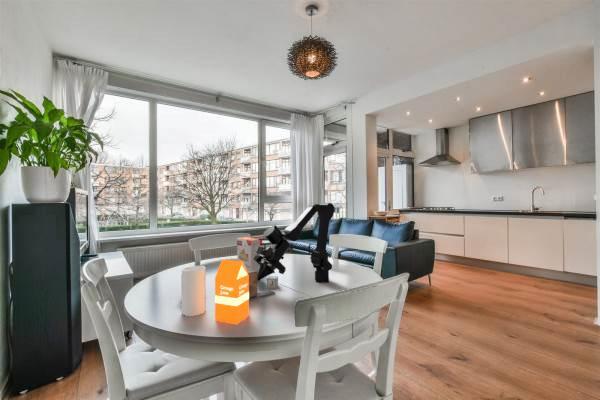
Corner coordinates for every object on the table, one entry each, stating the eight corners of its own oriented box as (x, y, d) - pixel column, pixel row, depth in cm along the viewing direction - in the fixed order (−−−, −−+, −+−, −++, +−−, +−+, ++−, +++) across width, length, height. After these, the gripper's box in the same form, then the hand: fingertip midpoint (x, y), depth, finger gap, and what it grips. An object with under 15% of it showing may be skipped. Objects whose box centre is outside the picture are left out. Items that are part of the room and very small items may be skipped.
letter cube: (277, 285, 136) (277, 276, 136) (276, 288, 131) (276, 278, 131) (268, 285, 136) (268, 275, 136) (266, 288, 132) (266, 278, 132)
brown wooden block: (254, 293, 121) (254, 269, 121) (258, 295, 118) (258, 271, 118) (228, 299, 113) (227, 274, 113) (231, 301, 111) (231, 276, 111)
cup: (197, 317, 99) (197, 271, 99) (177, 315, 101) (176, 270, 101) (209, 308, 107) (209, 266, 107) (190, 306, 109) (190, 265, 109)
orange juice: (228, 312, 103) (228, 257, 103) (249, 315, 100) (249, 259, 100) (214, 320, 96) (214, 261, 96) (236, 324, 93) (236, 263, 93)
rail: (270, 291, 126) (270, 287, 126) (275, 294, 123) (275, 289, 123) (223, 302, 113) (223, 298, 113) (227, 305, 110) (227, 301, 110)
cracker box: (236, 276, 152) (236, 237, 152) (246, 274, 156) (246, 236, 156) (250, 281, 142) (250, 240, 142) (260, 279, 146) (260, 239, 146)
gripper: (257, 237, 130) (234, 264, 124) (279, 241, 116) (255, 273, 109) (271, 252, 135) (251, 279, 128) (294, 258, 120) (273, 289, 114)
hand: (256, 280), depth 120 cm, fingers closed
